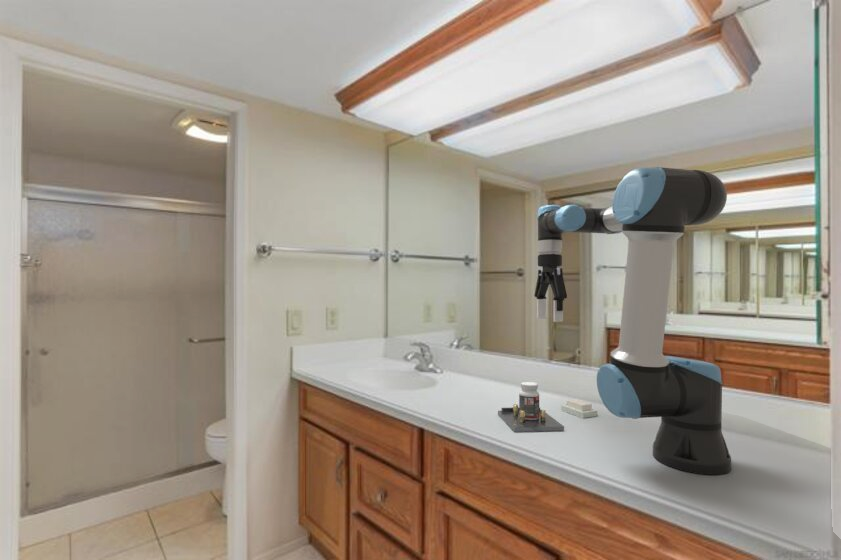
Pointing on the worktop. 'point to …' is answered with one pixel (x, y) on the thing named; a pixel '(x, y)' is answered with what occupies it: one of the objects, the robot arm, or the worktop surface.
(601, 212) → the robot arm
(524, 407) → the pill bottle
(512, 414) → the plate
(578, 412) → the soap dish
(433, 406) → the worktop surface
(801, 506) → the worktop surface
